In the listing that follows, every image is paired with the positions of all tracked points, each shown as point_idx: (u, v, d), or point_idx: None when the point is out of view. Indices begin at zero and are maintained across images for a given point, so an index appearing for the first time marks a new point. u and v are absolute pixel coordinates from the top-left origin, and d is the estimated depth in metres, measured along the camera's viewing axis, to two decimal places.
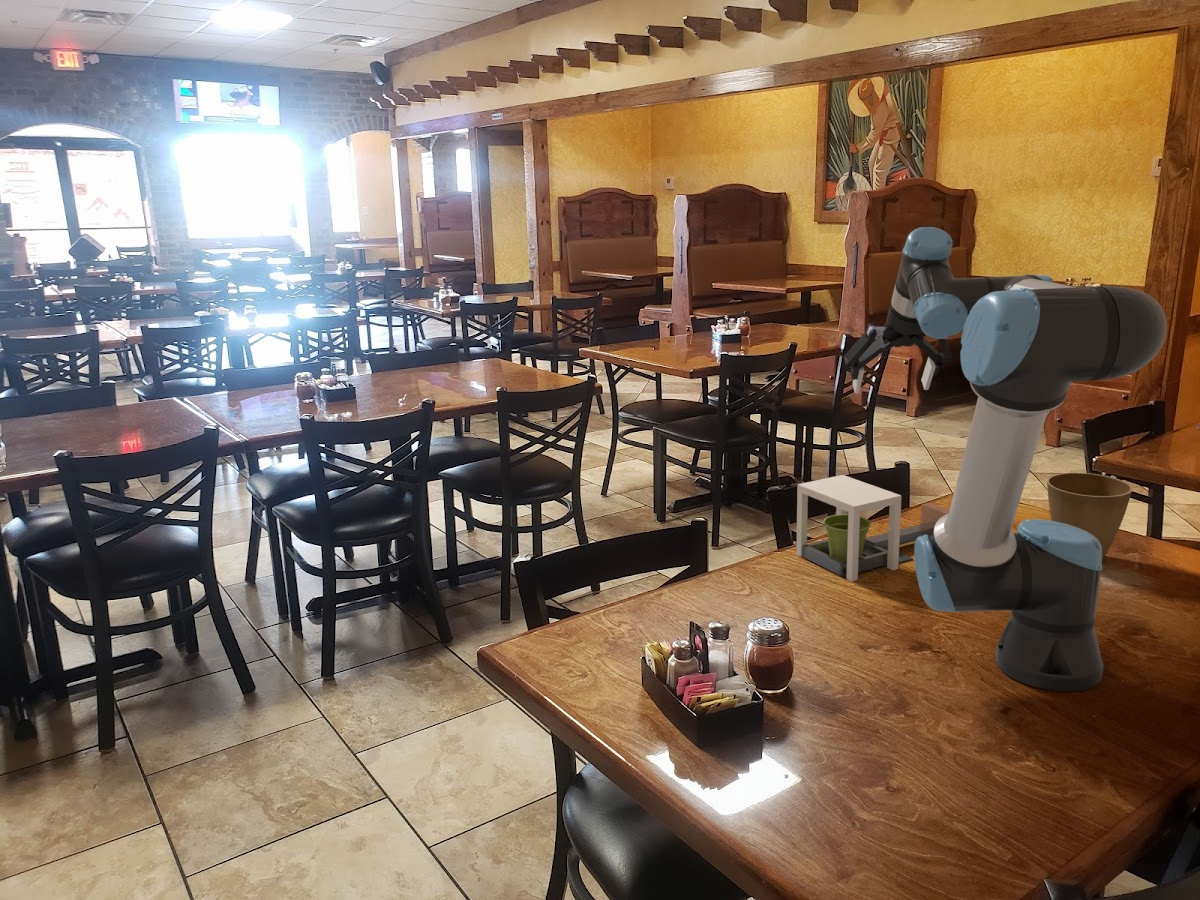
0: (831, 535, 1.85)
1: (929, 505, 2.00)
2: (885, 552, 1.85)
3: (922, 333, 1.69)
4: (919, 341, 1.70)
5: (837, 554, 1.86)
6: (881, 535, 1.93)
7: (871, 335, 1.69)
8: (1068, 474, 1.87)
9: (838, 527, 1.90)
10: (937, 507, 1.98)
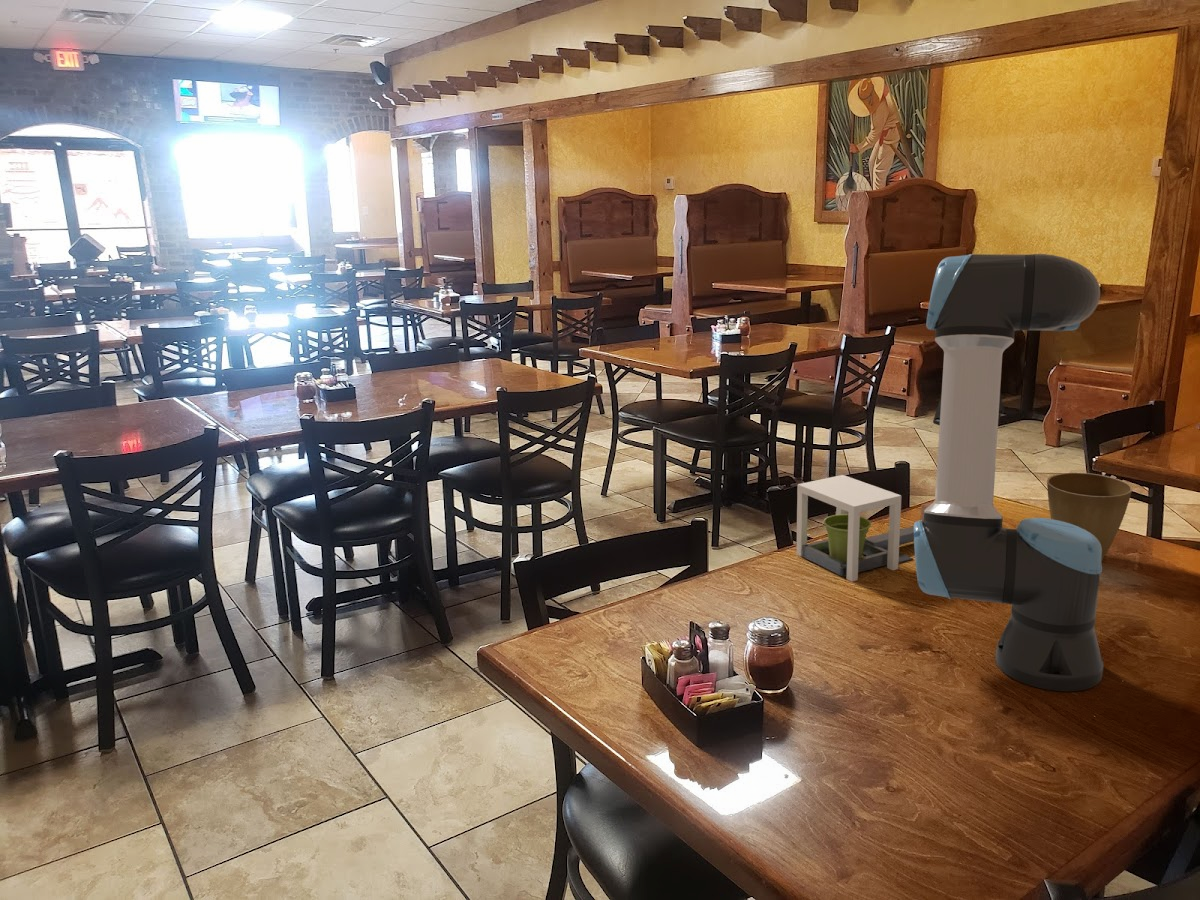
0: (831, 535, 1.85)
1: (929, 505, 2.00)
2: (885, 552, 1.85)
3: None
4: None
5: (837, 554, 1.86)
6: (881, 535, 1.93)
7: None
8: (1068, 474, 1.87)
9: (838, 527, 1.90)
10: None
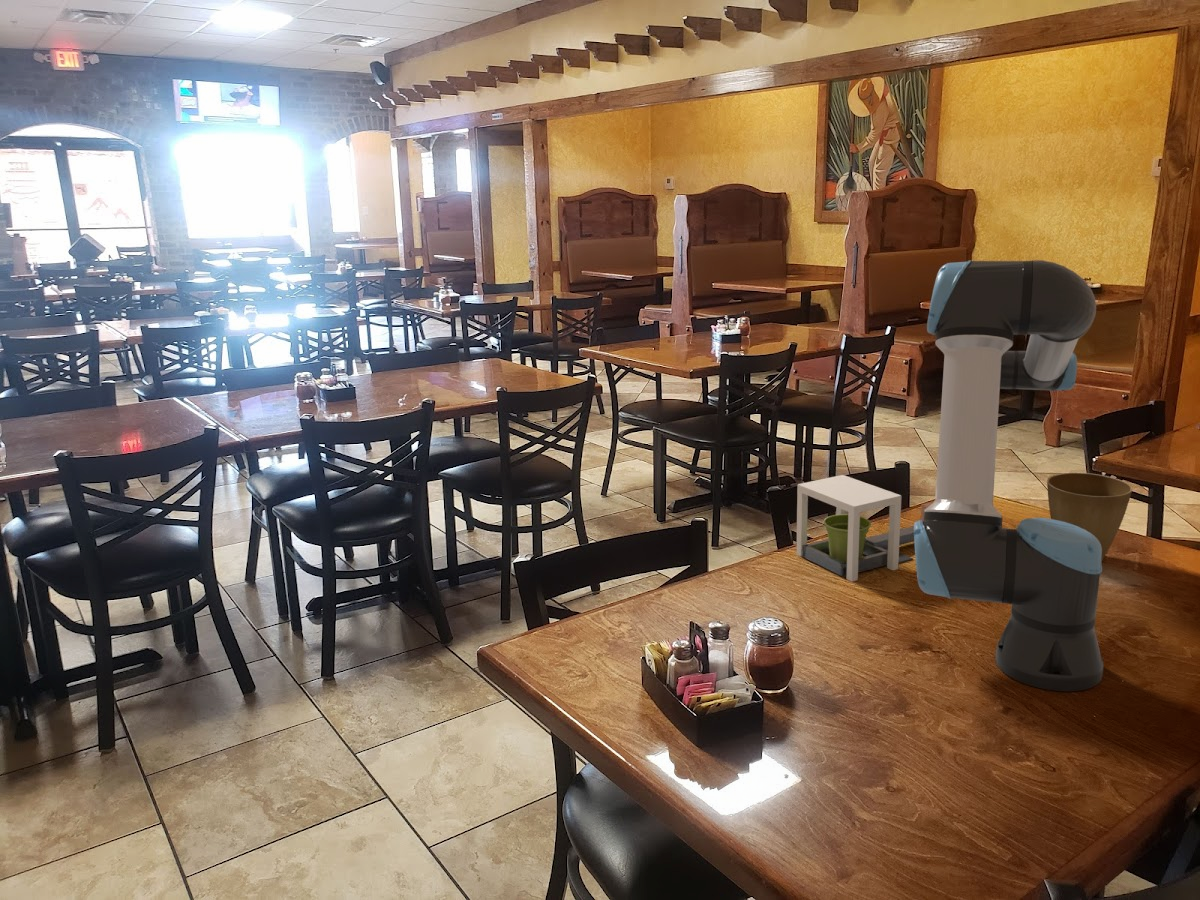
0: (831, 535, 1.85)
1: (929, 505, 2.00)
2: (885, 552, 1.85)
3: None
4: None
5: (837, 554, 1.86)
6: (881, 535, 1.93)
7: None
8: (1068, 474, 1.87)
9: (838, 527, 1.90)
10: None
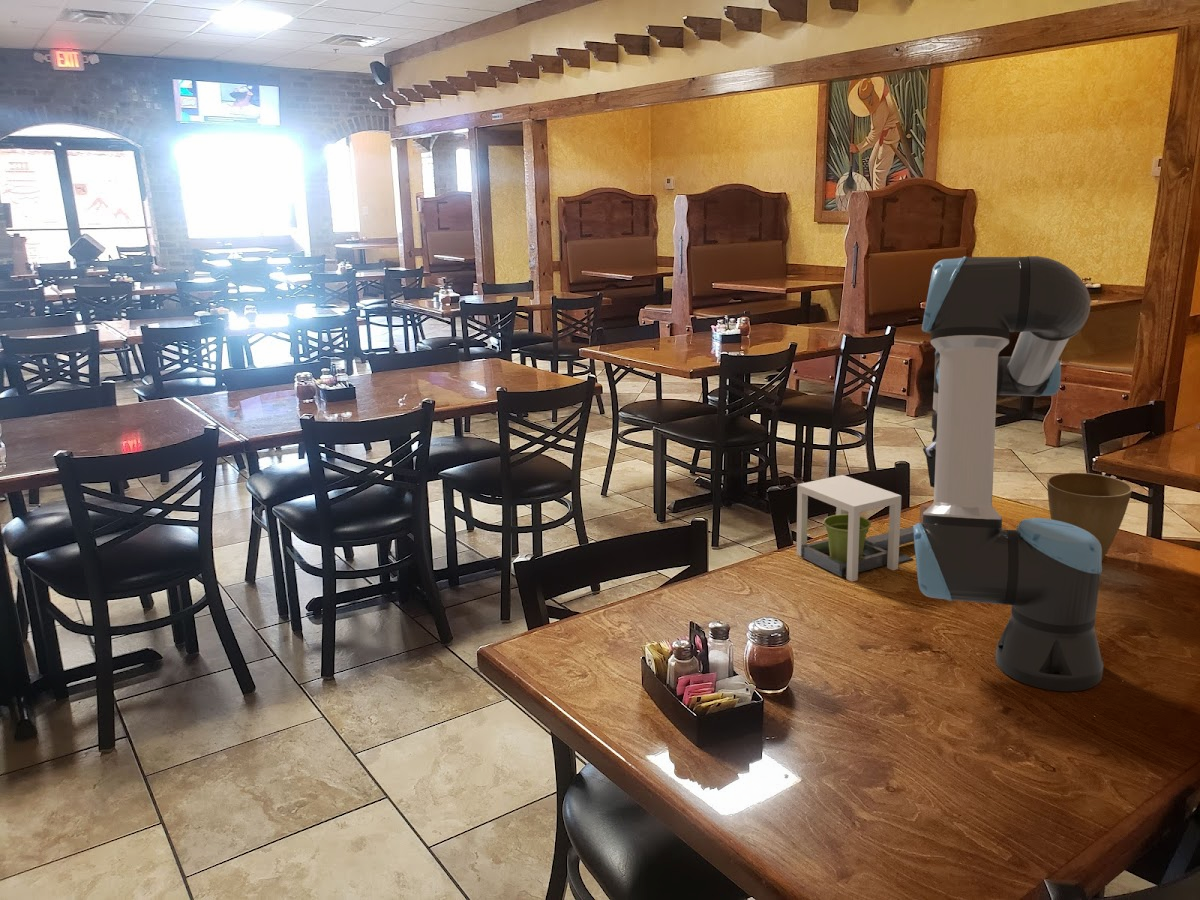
0: (831, 535, 1.85)
1: (928, 505, 2.00)
2: (884, 552, 1.85)
3: None
4: None
5: (837, 554, 1.86)
6: (880, 535, 1.93)
7: (933, 453, 1.91)
8: (1068, 474, 1.87)
9: (838, 527, 1.90)
10: None
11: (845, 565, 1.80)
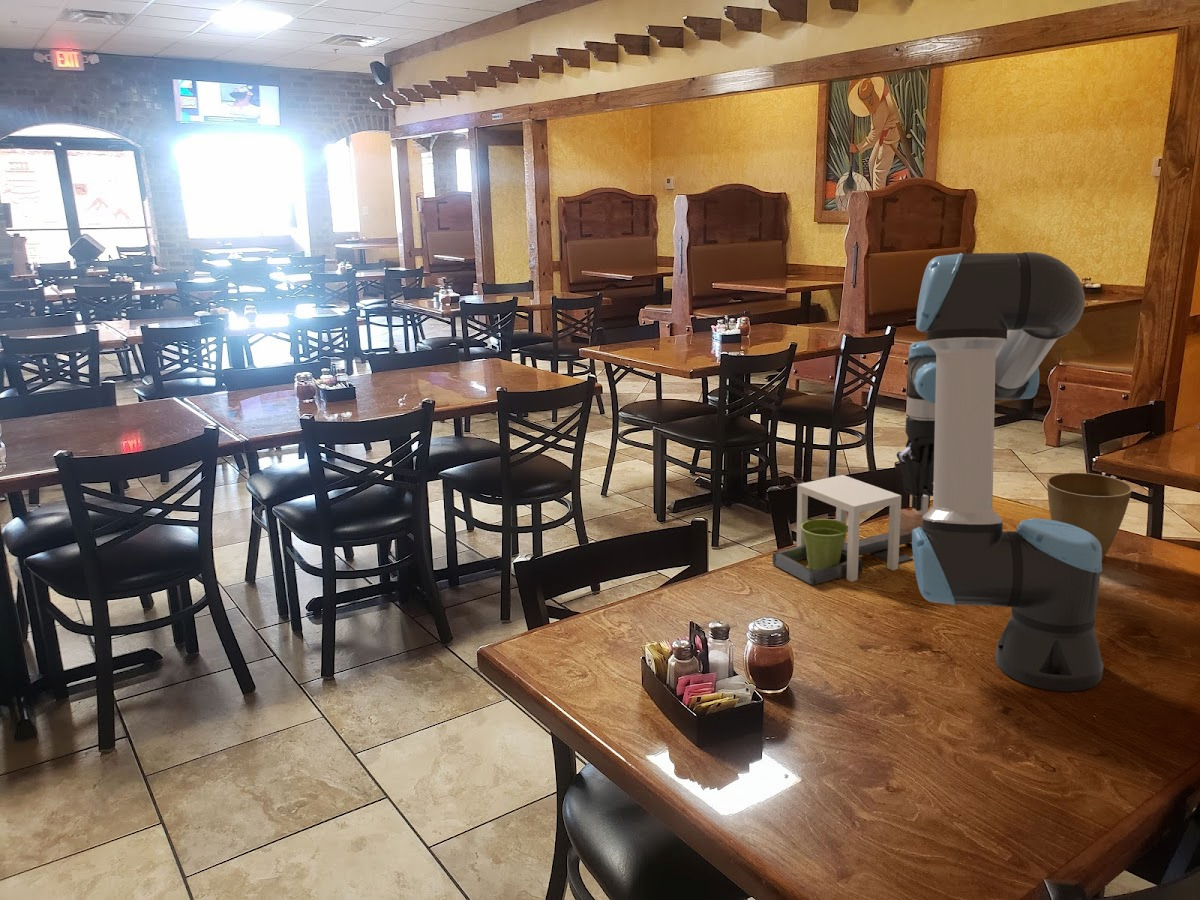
0: (807, 540, 1.83)
1: (903, 511, 1.97)
2: None
3: None
4: None
5: (814, 559, 1.83)
6: None
7: (906, 459, 1.88)
8: (1068, 474, 1.87)
9: (817, 532, 1.88)
10: (911, 513, 1.95)
11: (816, 573, 1.77)
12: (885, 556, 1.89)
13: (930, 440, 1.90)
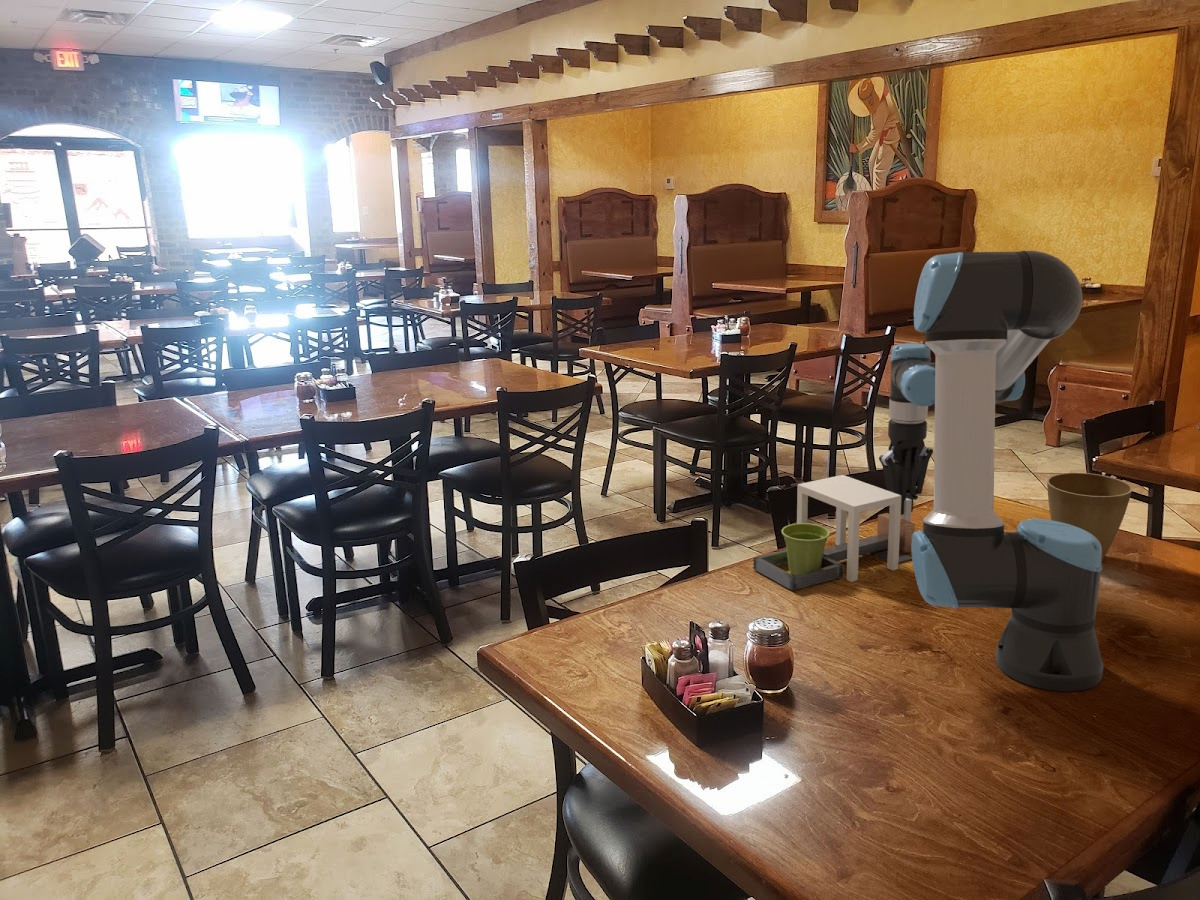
0: (788, 544, 1.81)
1: (886, 515, 1.95)
2: (837, 565, 1.80)
3: (920, 445, 1.89)
4: (917, 457, 1.89)
5: (795, 563, 1.81)
6: (835, 547, 1.88)
7: (889, 462, 1.86)
8: (1068, 474, 1.87)
9: (798, 536, 1.86)
10: None
11: (796, 578, 1.75)
12: (885, 556, 1.89)
13: (913, 443, 1.88)
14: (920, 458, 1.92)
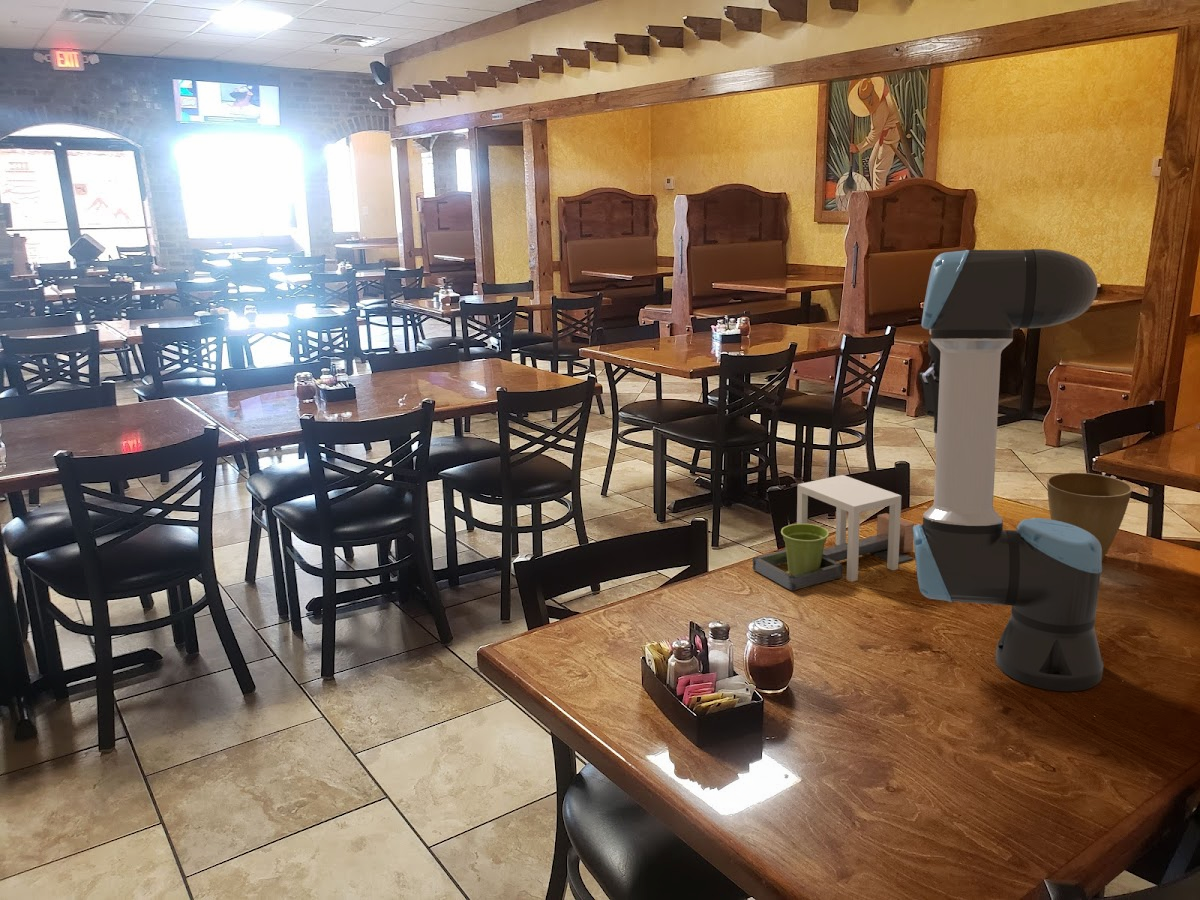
0: (787, 545, 1.81)
1: (885, 515, 1.95)
2: (836, 565, 1.80)
3: None
4: None
5: (794, 564, 1.81)
6: (834, 547, 1.87)
7: (930, 378, 1.86)
8: (1068, 474, 1.87)
9: (798, 536, 1.86)
10: None
11: (795, 578, 1.75)
12: (885, 556, 1.89)
13: None
14: None
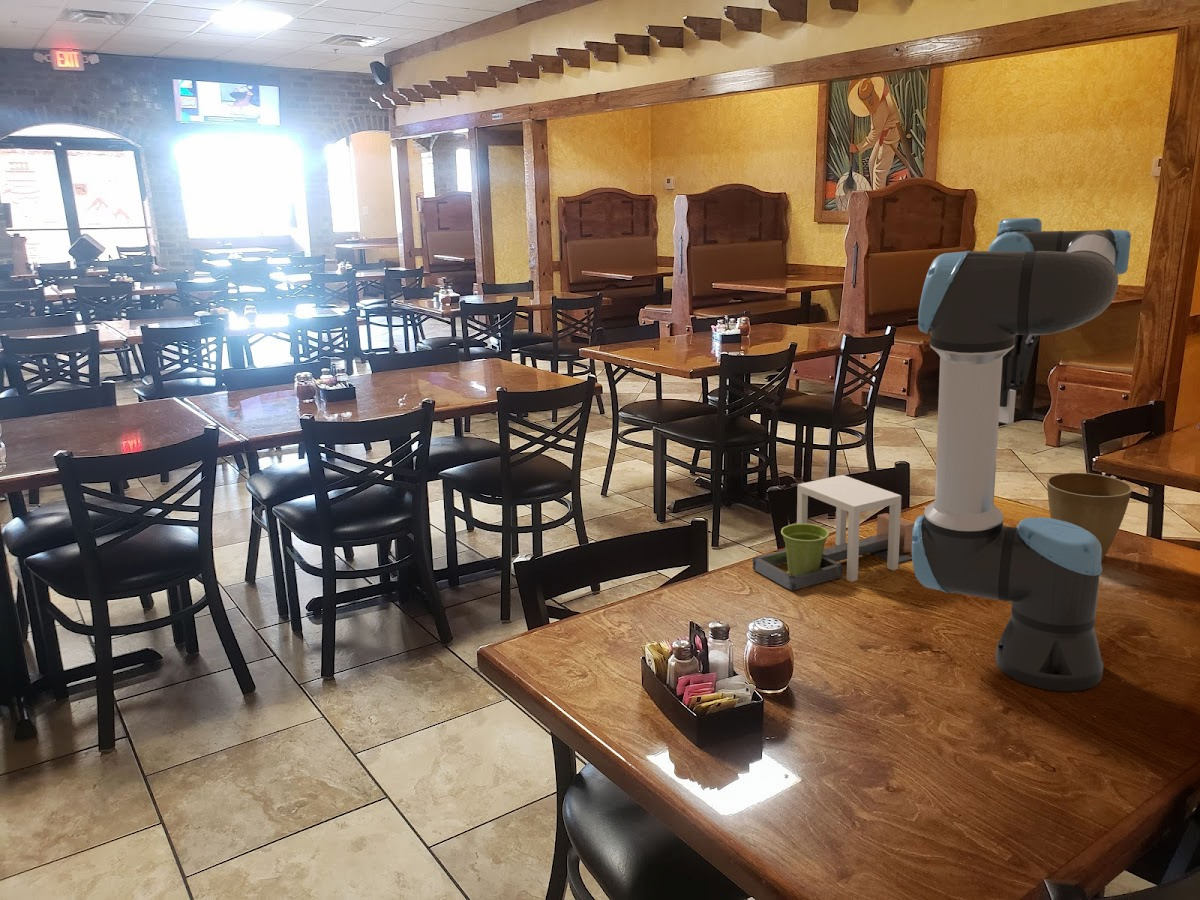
0: (787, 545, 1.81)
1: (885, 515, 1.95)
2: (836, 565, 1.80)
3: None
4: (1024, 343, 1.75)
5: (794, 564, 1.81)
6: (834, 547, 1.87)
7: None
8: (1068, 474, 1.87)
9: (798, 536, 1.86)
10: None
11: (795, 578, 1.75)
12: (885, 556, 1.89)
13: None
14: (1025, 346, 1.78)
